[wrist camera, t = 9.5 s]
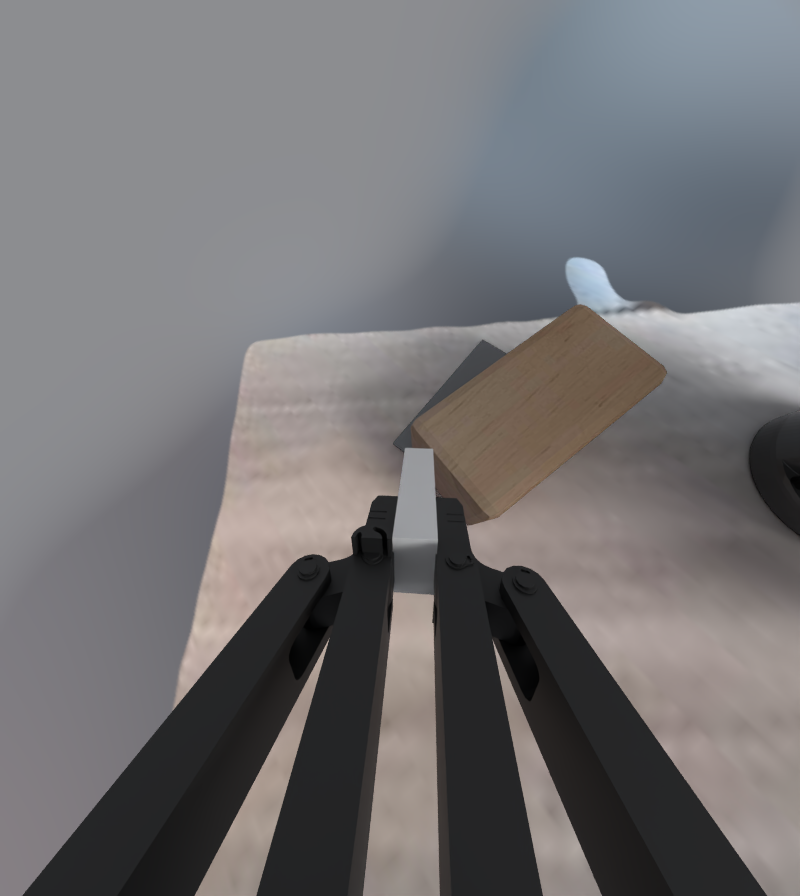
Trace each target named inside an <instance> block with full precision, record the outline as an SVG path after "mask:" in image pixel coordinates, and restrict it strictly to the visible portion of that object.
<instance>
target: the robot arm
mask: <svg viewBox="0 0 800 896" xmlns="http://www.w3.org/2000/svg"><path fill="white" fill-rule="evenodd" d="M750 465H751V471H752V475H753V478H754V481H755V483H756V485H757V488H758V490H759V492H760V493H761V495H762V497H763V498H764V500H765V501H766V503H767V504H768V505H769V507H770V508H771V509H772V510H773V512H774V513H775V514H776V515H777V516H778V517H779V518H780V519H781V520H782V521H783V522H784V523H785V524H786V525H788V526H789V527H790V528H791V529H792V530H794V531H795V532H796V533H798V534H799V535H800V411H797V412H794V413H791V414H788V415H785V416H782V417H779V418H776V419H774V420H772V421H770V422H769V423H767V424H766V425H765V426H764V427H762V428H761V430H760V431H759V432H758V433H757V435H756V436H755V438H754V440H753V443H752V446H751V451H750ZM351 539H352V548H353V554H352V555H351V556H349V557H347V558H345V559H341V560H337V561H333V562H328V561H327V559H326V558H325V557H323V556H321V555H314V554H312V555H307V556H304V557H302V558H300V559H298V560H297V561H296V562H294V563H293V564H292V565H291V566H290V568H289V569H288V570H287V571H286V573H285V574H284V575H283V576H282V577H281V579H280V580H279V581H278V582H277V584H276V585H275V586H274V587H273V588H272V590H271V591H270V592H269V593H268V595H267V596H266V597H265V598H264V600H263V601H262V602H261V603H260V604H259V606H258V607H257V608H256V609H255V611H254V612H253V613H252V614H251V616H250V617H249V618H248V619H247V620H246V622H245V623H244V624H243V625H242V627H241V628H240V629H239V630H238V631H237V633H236V634H235V635H234V636H233V638H232V639H231V640H230V641H229V643H228V644H227V645H226V646H225V647H224V649H223V650H222V651H221V652H220V654H219V655H218V656H217V657H216V658H215V660H214V661H213V662H212V663H211V665H210V666H209V667H208V668H207V670H206V671H205V672H204V673H203V674H202V676H201V677H200V678H199V679H198V681H197V682H196V683H195V684H194V686H193V687H192V688H191V689H190V690H189V692H188V693H187V694H186V695H185V697H184V698H183V699H182V700H181V701H180V703H179V704H178V705H177V706H176V708H175V709H174V710H173V711H172V713H171V714H170V715H169V716H168V718H167V719H166V720H165V721H164V723H163V724H162V725H161V726H160V727H159V729H158V730H157V731H156V732H155V734H154V735H153V736H152V737H151V738H150V740H149V741H148V742H147V743H146V744H145V746H144V747H143V748H142V750H141V751H140V752H139V753H138V754H137V756H136V757H135V758H134V759H133V760H132V762H131V763H130V764H129V765H128V767H127V768H126V769H125V770H124V772H123V773H122V774H121V775H120V776H119V778H118V779H117V780H116V781H115V783H114V784H113V785H112V786H111V788H110V789H109V790H108V791H107V792H106V794H105V795H104V796H103V797H102V799H101V800H100V801H99V802H98V803H97V805H96V806H95V807H94V809H93V810H92V811H91V812H90V813H89V815H88V816H87V817H86V818H85V819H84V821H83V822H82V823H81V824H80V826H79V827H78V828H77V829H76V831H75V832H74V833H73V834H72V835H71V837H70V838H69V839H68V840H67V842H66V843H65V844H64V845H63V846H62V848H61V849H60V850H59V851H58V853H57V854H56V855H55V856H54V858H53V859H52V860H51V861H50V862H49V864H48V865H47V866H46V867H45V869H44V870H43V871H42V872H41V873H40V875H39V876H38V877H37V879H36V880H35V881H34V882H33V883H32V885H31V886H30V887H29V888H28V889H27V891H26V892H25V893H24V894H23V896H194V895H195V894H196V892H197V890H198V888H199V886H200V884H201V882H202V880H203V878H204V876H205V874H206V873H207V871H208V869H209V867H210V865H211V863H212V861H213V859H214V857H215V855H216V853H217V852H218V850H219V848H220V846H221V844H222V842H223V840H224V838H225V836H226V834H227V832H228V831H229V829H230V827H231V825H232V823H233V821H234V819H235V817H236V815H237V813H238V811H239V809H240V808H241V806H242V804H243V802H244V800H245V798H246V796H247V794H248V792H249V790H250V788H251V787H252V785H253V783H254V781H255V779H256V777H257V775H258V773H259V771H260V769H261V767H262V766H263V764H264V762H265V760H266V758H267V756H268V754H269V752H270V750H271V748H272V746H273V745H274V743H275V741H276V739H277V737H278V735H279V733H280V731H281V729H282V727H283V725H284V724H285V722H286V720H287V718H288V716H289V714H290V712H291V710H292V708H293V706H294V704H295V703H296V701H297V699H298V697H299V695H300V693H301V691H302V689H303V687H304V685H305V683H306V682H307V680H308V678H309V676H310V674H311V672H312V670H313V668H314V666H315V664H316V662H317V660H318V659H319V657H320V655H321V653H322V651H323V649H324V647H325V645H326V643H327V641H328V639H329V638H330V639H329V642H328V646H327V649H326V653H325V656H324V660H323V663H322V667H321V670H320V674H319V677H318V681H317V684H316V688H315V692H314V695H313V699H312V702H311V706H310V709H309V713H308V716H307V720H306V723H305V727H304V730H303V734H302V737H301V741H300V744H299V748H298V751H297V755H296V758H295V762H294V765H293V769H292V772H291V776H290V779H289V783H288V786H287V790H286V794H285V797H284V801H283V804H282V808H281V811H280V815H279V818H278V822H277V825H276V829H275V832H274V836H273V839H272V843H271V846H270V850H269V853H268V857H267V860H266V864H265V867H264V871H263V874H262V878H261V881H260V885H259V888H258V892H257V896H363V888H364V878H365V869H366V859H367V850H368V840H369V831H370V821H371V811H372V802H373V792H374V783H375V773H376V764H377V754H378V744H379V735H380V725H381V716H382V706H383V697H384V687H385V678H386V668H387V658H388V649H389V639H390V630H391V620H392V611H393V590H394V592H402V593H416V594H431V595H434V607H433V621H432V623H434V660H435V703H436V746H437V790H438V833H439V877H440V896H543V894H542V889H541V884H540V879H539V873H538V868H537V863H536V858H535V853H534V848H533V843H532V838H531V833H530V828H529V823H528V818H527V813H526V808H525V802H524V797H523V792H522V787H521V782H520V777H519V772H518V767H517V762H516V757H515V752H514V747H513V742H512V737H511V731H510V726H509V721H508V716H507V711H506V706H505V701H504V696H503V691H502V686H501V681H500V676H499V671H498V666H497V660H496V655H495V650H494V645H493V641H494V644H495V646H496V648H497V651H498V653H499V655H500V658H501V660H502V662H503V665H504V667H505V669H506V672H507V674H508V677H509V679H510V681H511V684H512V686H513V688H514V691H515V693H516V695H517V698H518V700H519V702H520V705H521V707H522V709H523V712H524V714H525V716H526V719H527V721H528V723H529V726H530V728H531V730H532V733H533V735H534V737H535V740H536V742H537V744H538V747H539V749H540V751H541V754H542V756H543V758H544V761H545V763H546V765H547V768H548V770H549V773H550V775H551V777H552V780H553V782H554V784H555V787H556V789H557V791H558V794H559V796H560V798H561V801H562V803H563V805H564V808H565V810H566V812H567V815H568V817H569V819H570V822H571V824H572V826H573V829H574V831H575V833H576V836H577V838H578V840H579V843H580V845H581V847H582V850H583V852H584V854H585V857H586V859H587V861H588V864H589V866H590V869H591V871H592V873H593V876H594V878H595V880H596V883H597V885H598V887H599V890H600V892H601V894H602V896H767V895H766V894H765V892H764V891H763V889H762V888H761V886H760V885H759V884H758V882H757V881H756V879H755V878H754V877H753V875H752V874H751V872H750V871H749V869H748V868H747V867H746V865H745V864H744V862H743V861H742V860H741V858H740V857H739V855H738V854H737V852H736V851H735V850H734V848H733V847H732V845H731V844H730V843H729V841H728V840H727V838H726V837H725V835H724V834H723V833H722V831H721V830H720V828H719V827H718V826H717V824H716V823H715V821H714V820H713V818H712V817H711V816H710V814H709V813H708V811H707V810H706V809H705V807H704V806H703V804H702V803H701V801H700V800H699V799H698V797H697V796H696V794H695V793H694V792H693V790H692V789H691V787H690V786H689V784H688V783H687V782H686V780H685V779H684V777H683V776H682V775H681V773H680V772H679V770H678V769H677V767H676V766H675V765H674V763H673V762H672V760H671V759H670V758H669V756H668V755H667V753H666V752H665V750H664V749H663V748H662V746H661V745H660V743H659V742H658V741H657V739H656V738H655V736H654V735H653V734H652V732H651V731H650V729H649V728H648V726H647V725H646V724H645V722H644V721H643V719H642V718H641V717H640V715H639V714H638V712H637V711H636V709H635V708H634V707H633V705H632V704H631V702H630V701H629V700H628V698H627V697H626V695H625V694H624V692H623V691H622V690H621V688H620V687H619V685H618V684H617V683H616V681H615V680H614V678H613V677H612V675H611V674H610V673H609V671H608V670H607V668H606V667H605V666H604V664H603V663H602V661H601V660H600V658H599V657H598V656H597V654H596V653H595V651H594V650H593V649H592V647H591V646H590V644H589V643H588V641H587V640H586V639H585V637H584V636H583V634H582V633H581V632H580V630H579V629H578V627H577V626H576V624H575V623H574V622H573V620H572V619H571V617H570V616H569V615H568V613H567V612H566V610H565V609H564V607H563V606H562V605H561V603H560V602H559V600H558V599H557V598H556V596H555V595H554V593H553V592H552V591H551V589H550V588H549V586H548V585H547V583H546V582H545V581H544V579H543V578H542V577H541V576H540V575H539V574H538V573H536V572H534V571H533V570H531V569H529V568H526V567H523V566H512V567H509V568H507V569H506V570H505V571H504V572H501V571H498V570H495V569H492V568H489V567H487V566H485V565H483V564H482V563H480V562H479V561H478V560H477V559H476V558H475V556H474V555H473V554H472V551H471V548H470V542H469V537H468V531H467V526H466V521H465V516H464V510H463V505H462V504H461V503H460V502H459V500H458V499H457V498H441V497H436V494H435V475H434V457H433V449H424V448H405V452H404V459H403V466H402V473H401V480H400V487H399V494H398V496H377V498H376V499H375V500H374V501H373V502H372V504H371V508H370V512H369V515H368V519H367V523H366V525H365V526H362V527H360V528H358V529H357V530H356V531H355V532H354V533H353V535H352V537H351ZM492 639H493V640H492Z"/></svg>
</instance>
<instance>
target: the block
mask: <svg viewBox="0 0 800 896" xmlns="http://www.w3.org/2000/svg"><path fill="white" fill-rule="evenodd" d="M666 374H667V371H666V370H665V368H664V366H663V365H662V364H660V363H659V362H658V361H656V360H655V359H654V358H653V357H651V356H650V355H649V354H647V353H646V352H645V351H644V350H642V349H641V348H640V347H638V346H637V345H636V344H635V343H633V342H632V341H631V340H629V339H628V338H627V337H626V336H624V335H623V334H622V333H620V332H619V331H618V330H617V329H615V328H614V327H613V326H612V325H610V324H609V323H608V322H606V321H605V320H604V319H603V318H601V317H600V316H599V315H597V314H596V313H595V312H594V311H592V310H591V309H590V308H588V307H587V306H584V305H581V304H580V305H576V306H574V307H572V308H571V309H569V310H568V311H566V312H565V313H564V314H562V315H561V316H559V317H558V318H557V319H555V320H554V321H552V322H551V323H550V324H548V325H547V326H545V327H544V328H543V329H541V330H540V331H538V332H537V333H536V334H534V335H533V336H531V337H530V338H529V339H527V340H526V341H524V342H523V343H522V344H520V345H519V346H517V347H516V348H515V349H513V350H512V351H510V352H509V353H508V354H506V355H505V356H503V357H502V358H501V359H499V360H498V361H496V362H495V363H494V364H492V365H491V366H489V367H488V368H487V369H485V370H484V371H483V372H481V373H480V374H478V375H477V376H476V377H474V378H473V379H471V380H470V381H469V382H467V383H466V384H464V385H463V386H462V387H460V388H459V389H457V390H456V391H455V392H453V393H452V394H450V395H449V396H448V397H446V398H445V399H443V400H442V401H441V402H439V403H438V404H436V405H435V406H434V407H432V408H431V409H429V410H428V411H427V412H425V413H424V414H422V415H421V416H420V417H418V418H417V419H415V421H414V422H413V424H412V426H411V442H412V448H424V449H433V457H434V475H435V488H436V489H437V490H438V492H439V493H440V494H441V495H442V497H443V498H457V499H458V500H459V502H460V503H461V504H462V505H463V510H464V516H465V521H466V524H467V525H473V524H476V523H480V522H484V521H487V520H491V519H494V518H498V517H499V516H500V515H501V514H503V513H504V512H505V511H506V510H508V509H509V508H510V507H511V506H512V505H514V504H515V503H516V502H517V501H518V500H520V499H521V498H522V497H523V496H525V495H526V494H527V493H528V492H529V491H531V490H532V489H533V488H534V487H536V486H537V485H538V484H539V483H540V482H542V481H543V480H544V479H545V478H547V477H548V476H549V475H550V474H551V473H553V472H554V471H555V470H556V469H558V468H559V467H560V466H561V465H562V464H564V463H565V462H566V461H567V460H569V459H570V458H571V457H572V456H573V455H575V454H576V453H577V452H578V451H579V450H581V449H582V448H583V447H584V446H586V445H587V444H588V443H589V442H590V441H592V440H593V439H594V438H595V437H597V436H598V435H599V434H600V433H601V432H603V431H604V430H605V429H606V428H608V427H609V426H610V425H611V424H612V423H614V422H615V421H616V420H617V419H619V418H620V417H621V416H622V415H623V414H625V413H626V412H627V411H628V410H629V409H631V408H632V407H633V406H634V405H636V404H637V403H638V402H639V401H640V400H642V399H643V398H644V397H645V396H647V395H648V394H649V393H650V392H651V391H653V390H654V389H655V388H656V387H658V386H659V385H660V384H661V383H662V381H663V379H664V378H665V376H666Z"/></svg>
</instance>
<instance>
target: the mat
mask: <svg viewBox="0 0 800 896" xmlns="http://www.w3.org/2000/svg"><path fill="white" fill-rule="evenodd" d="M505 355H506V353H504V352H503V351H501V350H499V349H498V348H496V347H494V346H493V345H491V344H489V343H488V342H486V341H484V340H482V341H481V342H480V343H479V344H478V346H477V347H476V348H475V349H474V350H473V351H472V352H471V354H470V355H469V356H468V357H467V358H466V359H465V361H464V362H463V363H462V364H461V365H460V366H459V367H458V369H457V370H456V371H455V372H454V373H453V374H452V376H451V377H450V378H449V379H448V380H447V381H446V383H445V384H444V385H443V386H442V387H441V388H440V389H439V391H438V392H437V393H436V394H435V395H434V396H433V398H432V399H431V400H430V401H429V402H428V403H427V404H426V406H425V407H424V408H423V409H422V410H421V411H420V413H419V414H418V415H417V416H416V417H415V418H414V419H413V421H412V422H411V423H410V424H409V425H408V426H407V428H406V429H405V430H404V431H403V432H402V433H401V434H400V436H399V437H398V438H397V439H396V440H395V441H394V443H393V444H394V445H395V446H397V447H398V448H399V449H400V450H402V451H403V452H405V448H412V442H411V426H412V424H413V422H414V421H415V419H417V418H418V417H420V416H421V415H422V414H424V413H425V412H427V411H428V410H429V409H431V408H432V407H434V406H435V405H436V404H438V403H439V402H441V401H442V400H443V399H445V398H446V397H448V396H449V395H450V394H452V393H453V392H455V391H456V390H457V389H459V388H460V387H462V386H463V385H464V384H466V383H467V382H469V381H470V380H471V379H473V378H474V377H476V376H477V375H478V374H480V373H481V372H483V371H484V370H485V369H487V368H488V367H489V366H491V365H492V364H494V363H495V362H496V361H498V360H499V359H501V358H502V357H503V356H505Z"/></svg>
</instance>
